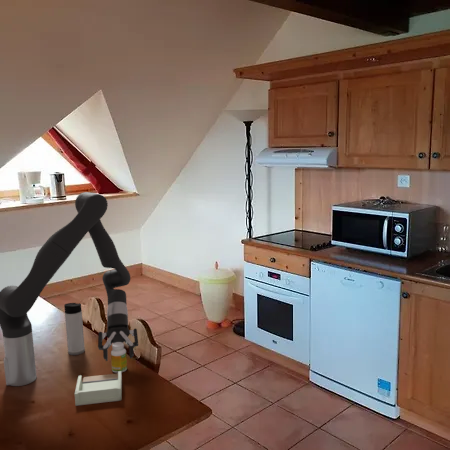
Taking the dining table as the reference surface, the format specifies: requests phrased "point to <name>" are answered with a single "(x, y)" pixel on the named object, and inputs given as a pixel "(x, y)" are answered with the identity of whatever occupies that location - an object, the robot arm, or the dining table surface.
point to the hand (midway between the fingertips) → (118, 358)
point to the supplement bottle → (118, 357)
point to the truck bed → (98, 389)
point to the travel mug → (74, 328)
